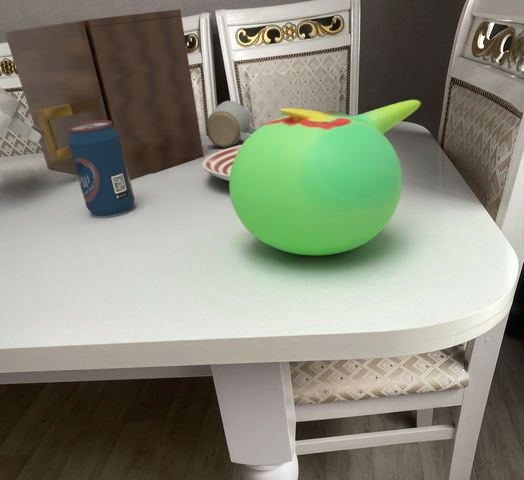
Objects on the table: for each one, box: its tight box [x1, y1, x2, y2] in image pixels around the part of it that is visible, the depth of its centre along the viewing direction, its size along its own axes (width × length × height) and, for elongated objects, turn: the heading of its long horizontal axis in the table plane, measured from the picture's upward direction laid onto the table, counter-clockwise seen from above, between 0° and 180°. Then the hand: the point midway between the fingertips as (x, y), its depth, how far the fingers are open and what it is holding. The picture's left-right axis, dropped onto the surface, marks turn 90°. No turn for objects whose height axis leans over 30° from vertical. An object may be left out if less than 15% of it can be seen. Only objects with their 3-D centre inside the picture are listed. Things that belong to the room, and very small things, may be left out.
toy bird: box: [228, 99, 422, 256], centre depth 54 cm, size 18×17×15 cm
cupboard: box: [11, 8, 205, 181], centre depth 98 cm, size 18×26×24 cm
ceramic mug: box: [205, 100, 258, 149], centre depth 105 cm, size 11×8×8 cm
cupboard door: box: [4, 20, 108, 176], centre depth 90 cm, size 7×26×24 cm, turn 46°
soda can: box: [68, 120, 136, 219], centre depth 74 cm, size 7×7×12 cm
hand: (40, 138), depth 88 cm, fingers closed
